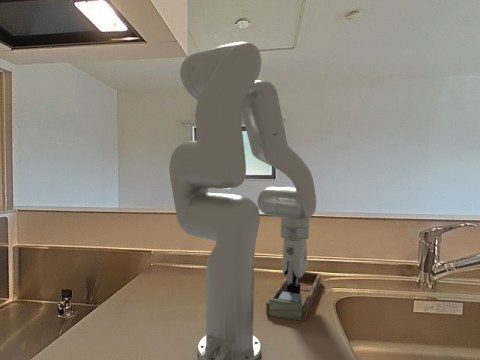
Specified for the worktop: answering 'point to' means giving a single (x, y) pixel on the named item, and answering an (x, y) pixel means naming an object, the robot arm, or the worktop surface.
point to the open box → (293, 308)
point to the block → (290, 297)
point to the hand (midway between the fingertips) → (293, 298)
